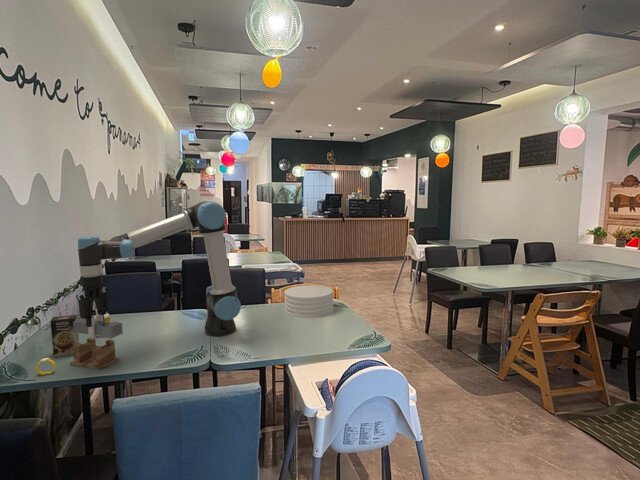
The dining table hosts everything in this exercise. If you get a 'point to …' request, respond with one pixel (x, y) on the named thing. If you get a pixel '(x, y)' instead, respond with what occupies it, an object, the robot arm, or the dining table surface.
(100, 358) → the cradle rack
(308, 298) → the plate stack
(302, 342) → the dining table surface
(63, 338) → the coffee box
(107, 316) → the supplement bottle
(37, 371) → the watch
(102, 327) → the grey t-shaped block
